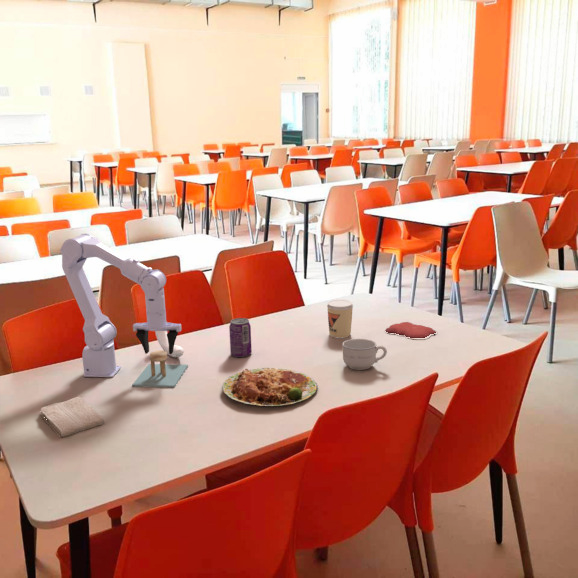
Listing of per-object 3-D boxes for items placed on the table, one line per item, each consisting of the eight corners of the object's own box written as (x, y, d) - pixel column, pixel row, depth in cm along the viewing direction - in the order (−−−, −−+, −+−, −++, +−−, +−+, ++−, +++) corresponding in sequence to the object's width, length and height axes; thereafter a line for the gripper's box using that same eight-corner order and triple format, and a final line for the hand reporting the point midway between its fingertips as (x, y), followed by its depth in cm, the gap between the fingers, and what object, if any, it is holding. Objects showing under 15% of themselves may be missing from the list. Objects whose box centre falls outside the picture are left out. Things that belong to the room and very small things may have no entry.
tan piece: (149, 377, 190) (147, 356, 188) (155, 370, 195) (153, 350, 193) (165, 378, 189) (163, 357, 187) (171, 371, 194) (169, 350, 192)
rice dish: (296, 369, 199) (296, 353, 198) (332, 401, 174) (332, 382, 173) (212, 383, 190) (210, 367, 188) (237, 419, 164) (236, 400, 163)
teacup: (336, 369, 195) (336, 345, 193) (350, 357, 204) (350, 335, 202) (378, 377, 188) (379, 352, 186) (390, 364, 198) (391, 341, 196)
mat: (132, 386, 186) (132, 384, 185) (149, 365, 201) (148, 363, 201) (174, 387, 184) (174, 385, 184) (188, 366, 200) (188, 364, 200)
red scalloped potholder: (380, 332, 228) (380, 327, 228) (401, 323, 238) (401, 318, 237) (422, 343, 217) (422, 338, 216) (441, 333, 226) (442, 327, 226)
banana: (178, 366, 200) (175, 323, 196) (152, 349, 215) (148, 309, 211) (191, 362, 203) (188, 320, 199) (165, 346, 218) (161, 306, 214)
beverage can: (253, 350, 212) (251, 317, 209) (249, 358, 205) (248, 324, 202) (232, 350, 213) (231, 317, 209) (228, 358, 206) (227, 324, 202)
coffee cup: (322, 332, 228) (322, 301, 225) (344, 328, 232) (344, 298, 228) (334, 340, 220) (334, 308, 217) (357, 336, 224) (357, 304, 220)
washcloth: (79, 402, 177) (78, 393, 176) (106, 425, 164) (105, 414, 163) (37, 415, 170) (36, 405, 169) (61, 440, 156) (60, 429, 155)
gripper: (128, 314, 184) (132, 357, 187) (175, 315, 182) (178, 358, 186) (135, 307, 190) (139, 348, 194) (182, 308, 189) (184, 349, 193)
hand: (159, 352), depth 191 cm, fingers open, 7 cm apart
